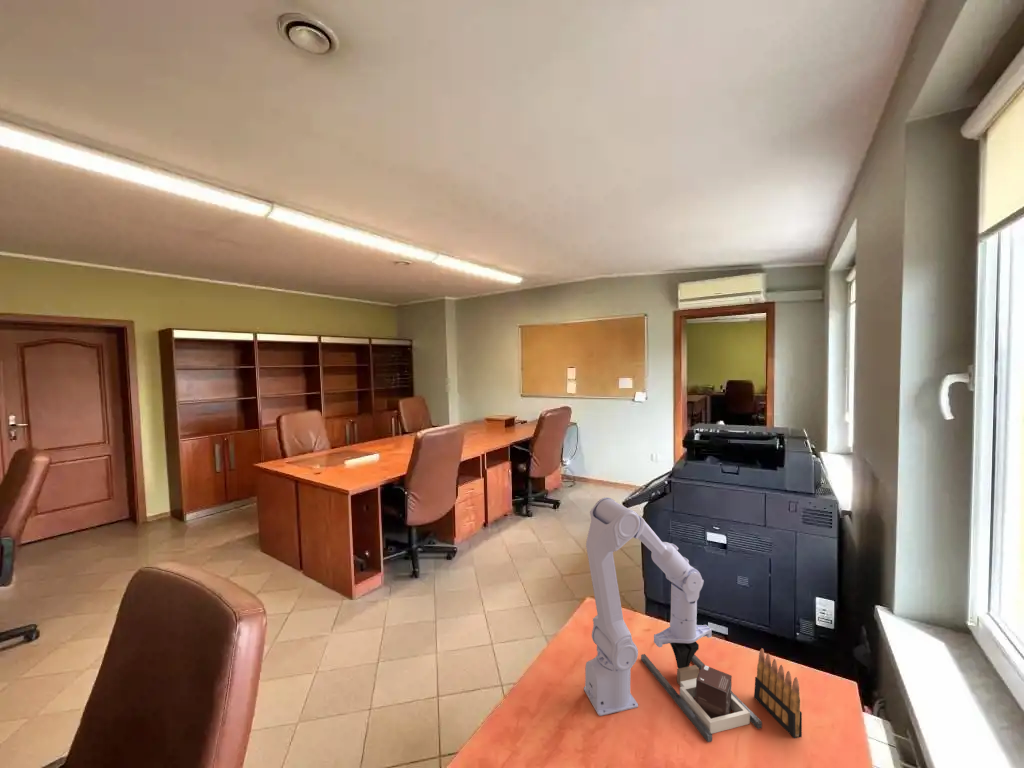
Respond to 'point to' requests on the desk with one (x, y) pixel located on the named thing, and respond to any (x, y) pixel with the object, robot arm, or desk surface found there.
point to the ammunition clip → (778, 694)
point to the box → (713, 691)
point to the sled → (714, 725)
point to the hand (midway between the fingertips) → (682, 669)
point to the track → (684, 706)
